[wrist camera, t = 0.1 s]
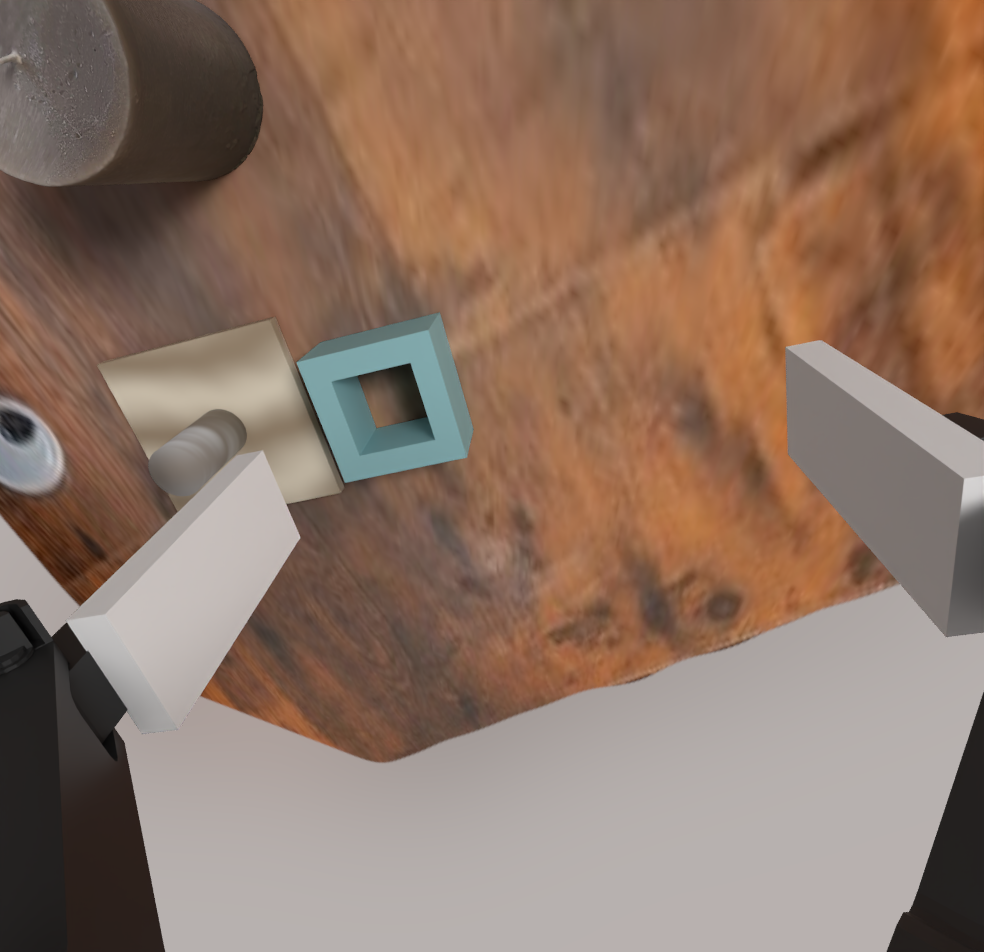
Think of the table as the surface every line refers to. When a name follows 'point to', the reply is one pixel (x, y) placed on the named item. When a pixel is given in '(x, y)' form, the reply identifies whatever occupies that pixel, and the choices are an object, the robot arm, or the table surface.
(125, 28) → the pillar candle
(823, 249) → the table surface
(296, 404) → the post block
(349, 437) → the collar
